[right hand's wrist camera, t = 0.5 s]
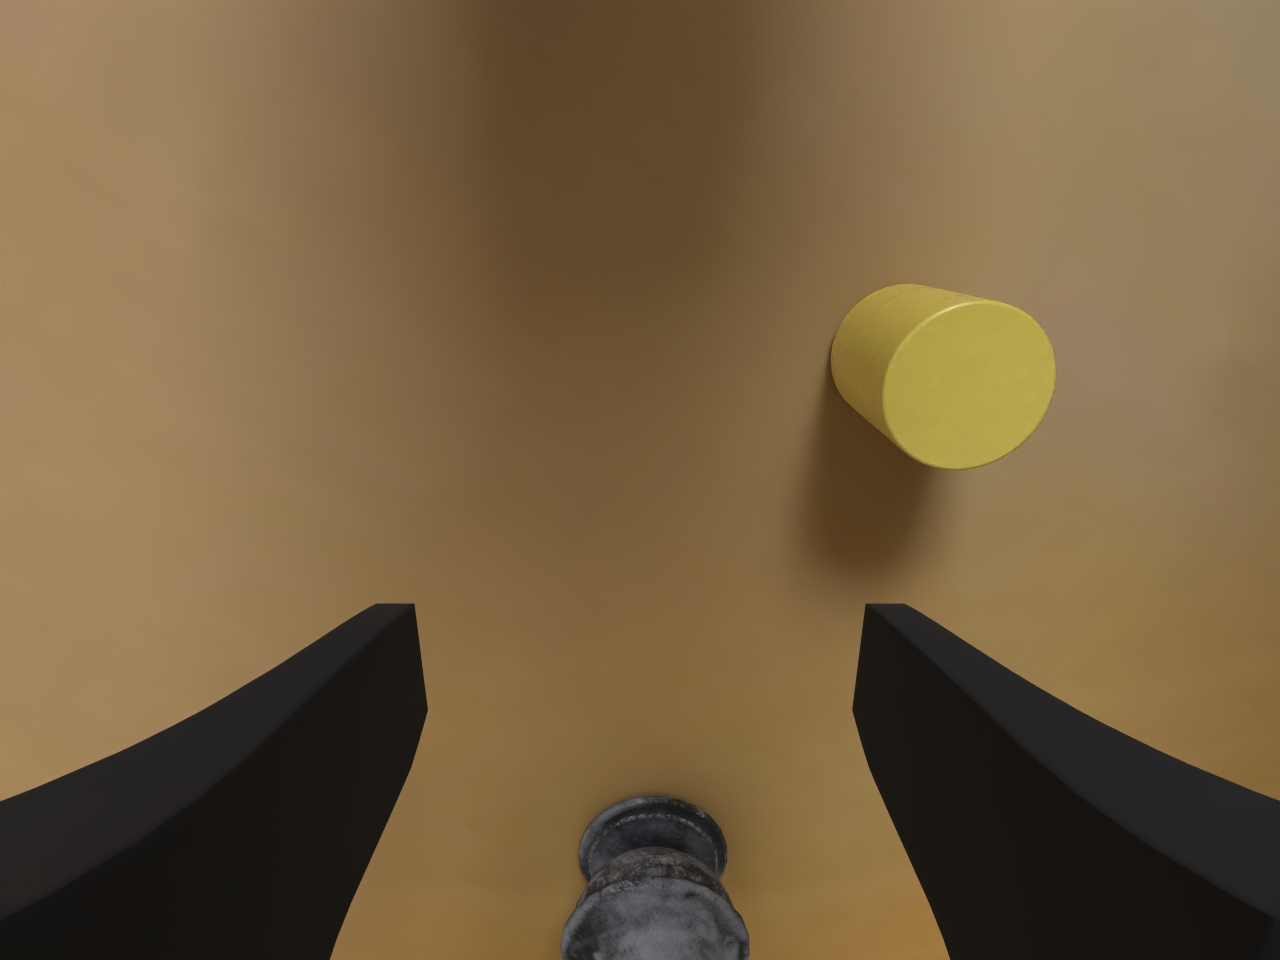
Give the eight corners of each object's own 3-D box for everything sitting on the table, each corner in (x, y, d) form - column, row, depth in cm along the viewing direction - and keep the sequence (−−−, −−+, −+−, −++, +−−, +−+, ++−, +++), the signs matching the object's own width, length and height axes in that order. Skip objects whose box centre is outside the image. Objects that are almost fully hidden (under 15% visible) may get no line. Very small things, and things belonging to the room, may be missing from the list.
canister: (895, 445, 20) (962, 502, 16) (801, 362, 19) (846, 401, 15) (995, 344, 19) (1094, 377, 15) (900, 253, 18) (977, 261, 14)
